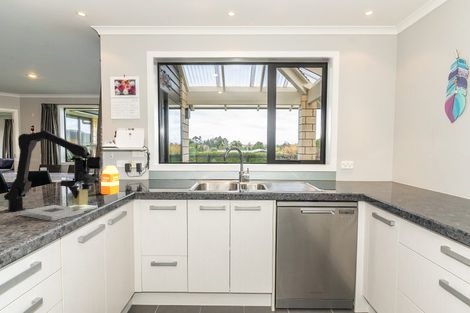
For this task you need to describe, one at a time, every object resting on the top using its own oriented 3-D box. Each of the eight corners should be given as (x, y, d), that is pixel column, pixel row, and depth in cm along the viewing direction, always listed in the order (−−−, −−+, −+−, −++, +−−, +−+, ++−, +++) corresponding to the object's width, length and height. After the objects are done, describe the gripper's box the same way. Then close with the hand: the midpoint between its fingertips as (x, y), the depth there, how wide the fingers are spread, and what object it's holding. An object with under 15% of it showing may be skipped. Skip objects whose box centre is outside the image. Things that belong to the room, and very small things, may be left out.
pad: (63, 209, 141) (63, 207, 141) (80, 205, 150) (80, 203, 150) (79, 211, 136) (79, 209, 136) (96, 207, 146) (96, 206, 146)
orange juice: (118, 192, 195) (119, 165, 194) (110, 194, 187) (110, 166, 186) (110, 191, 197) (110, 165, 197) (101, 193, 189) (101, 165, 188)
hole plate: (20, 215, 127) (20, 211, 127) (54, 208, 142) (54, 204, 142) (51, 220, 119) (51, 216, 119) (83, 213, 134) (83, 209, 134)
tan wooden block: (72, 204, 142) (72, 189, 141) (81, 202, 146) (81, 188, 146) (79, 205, 140) (79, 190, 140) (87, 203, 144) (87, 189, 144)
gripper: (75, 170, 131) (74, 202, 131) (105, 168, 148) (105, 196, 149) (59, 169, 135) (59, 200, 135) (91, 167, 152) (90, 194, 153)
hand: (80, 197), depth 143 cm, fingers closed on tan wooden block, 5 cm apart
